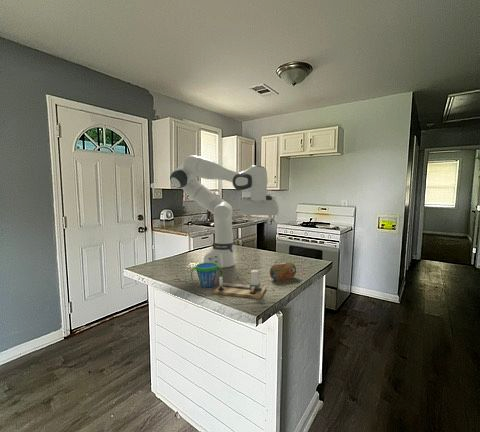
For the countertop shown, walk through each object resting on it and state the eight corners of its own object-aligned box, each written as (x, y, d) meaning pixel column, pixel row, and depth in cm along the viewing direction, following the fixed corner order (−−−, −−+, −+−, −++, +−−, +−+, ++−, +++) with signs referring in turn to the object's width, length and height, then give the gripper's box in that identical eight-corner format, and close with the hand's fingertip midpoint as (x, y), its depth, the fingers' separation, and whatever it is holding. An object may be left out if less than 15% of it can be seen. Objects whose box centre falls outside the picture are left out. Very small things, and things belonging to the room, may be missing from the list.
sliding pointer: (247, 292, 118) (247, 273, 118) (252, 286, 125) (251, 269, 124) (256, 293, 117) (256, 274, 116) (260, 287, 124) (260, 270, 123)
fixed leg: (218, 290, 122) (218, 277, 122) (220, 288, 124) (219, 276, 123) (222, 290, 122) (221, 278, 121) (223, 289, 123) (223, 276, 123)
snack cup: (190, 290, 126) (189, 268, 125) (192, 282, 137) (191, 263, 136) (223, 288, 128) (223, 267, 127) (222, 281, 138) (222, 261, 137)
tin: (271, 282, 136) (271, 265, 135) (268, 280, 139) (268, 264, 138) (296, 277, 142) (296, 262, 141) (293, 276, 145) (293, 261, 144)
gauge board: (212, 293, 122) (212, 289, 121) (222, 284, 133) (222, 280, 133) (260, 298, 115) (260, 294, 114) (266, 289, 126) (266, 285, 126)
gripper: (238, 197, 139) (238, 223, 140) (277, 197, 132) (277, 224, 134) (241, 197, 145) (242, 222, 146) (279, 196, 138) (279, 223, 140)
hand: (259, 223), depth 140 cm, fingers open, 8 cm apart
